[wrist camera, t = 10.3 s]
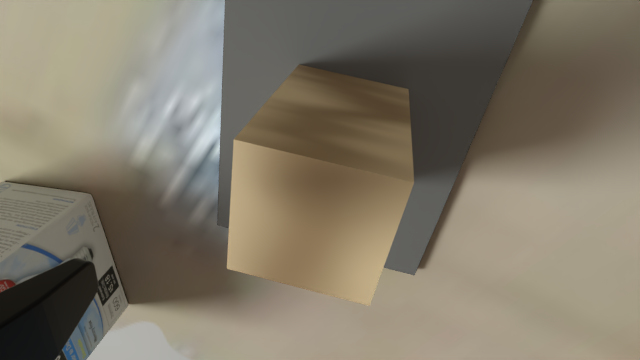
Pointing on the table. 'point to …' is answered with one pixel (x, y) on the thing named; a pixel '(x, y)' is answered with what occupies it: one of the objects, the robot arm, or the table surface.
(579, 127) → the table surface
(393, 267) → the mat
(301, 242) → the tan wooden block
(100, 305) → the light bulb box
